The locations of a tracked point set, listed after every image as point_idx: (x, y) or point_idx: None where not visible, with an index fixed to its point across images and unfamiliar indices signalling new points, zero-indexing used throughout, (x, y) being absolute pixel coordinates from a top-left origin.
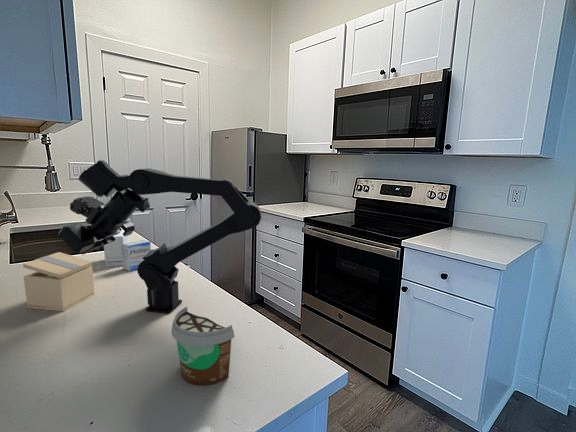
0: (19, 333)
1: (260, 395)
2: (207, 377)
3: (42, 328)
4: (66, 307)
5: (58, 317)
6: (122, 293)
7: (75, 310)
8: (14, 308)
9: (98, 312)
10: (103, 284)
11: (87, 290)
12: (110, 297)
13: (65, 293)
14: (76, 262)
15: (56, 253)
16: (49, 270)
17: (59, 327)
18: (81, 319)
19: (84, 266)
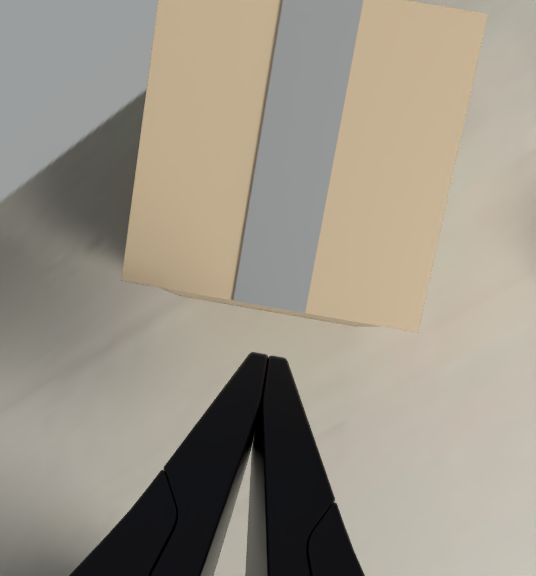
0: (6, 248)
1: None
2: None
3: (40, 306)
4: (193, 297)
5: (128, 308)
6: (375, 456)
7: (190, 338)
8: None
9: (172, 450)
10: (479, 300)
11: (321, 318)
12: (326, 420)
13: (183, 292)
14: (356, 247)
15: (449, 19)
16: (148, 180)
17: (45, 366)
18: (109, 413)
19: (337, 317)
